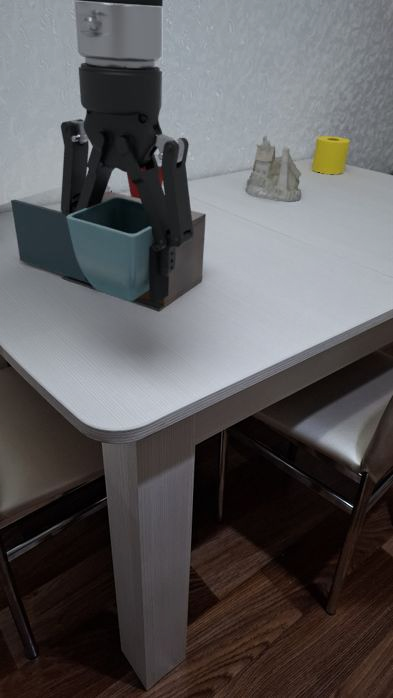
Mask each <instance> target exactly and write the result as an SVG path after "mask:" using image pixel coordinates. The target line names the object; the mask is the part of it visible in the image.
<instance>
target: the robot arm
mask: <svg viewBox="0 0 393 698" xmlns="http://www.w3.org/2000/svg"><path fill="white" fill-rule="evenodd" d="M74 12H75V14H74V15H75V26H76V27H75V28H76V42H77V53H78V54H79V56H81V57H83V58H84V61H85V62H82V63H80V66H79V67H78V81H79V95H80V97H79V99H80V103H81V104H80V105H81V106H82V107H83V108H84V109H85V111H86V112H85V117H84V120H83V119H82V118H78V119H72V120H68V121H63V122H62V123H61V124H60V132H61V136H62V141H63V162H62V180H61V181H62V182H61V197H60V200H61V201H60V212H62V213H63V215H65V216H67V215H69V214H72V213H74V212H77V211H80V210H82V209H85V208H86V209H87V208H89V207H92V206H94V205H97V204H99V203H101V202H102V199H103V196H104V193H105V190H106V187H107V185H109V182H110V179H111V176H112V173H113V171H114V170H115V169H118V170H120V171H122V172H124V173H127V172H128V175H129V178H130V180H131V182H132V183H134V184H135V185H136V188H137V191H138V193H139V196H140V199H141V202H142V205H143V208H144V210H145V213H146V216H147V219H148V222H149V225H150V227H152V233H153V236H154V239H155V242H156V244H154V245H152V246H150V247H149V303H152V304H157V303H158V302H159V301H161V300H162V299H164V298H165V297H167V296H168V292H169V275H170V274H171V273H173V272H174V270H175V257H176V247H179V246H181V245H183V244H185V243H186V242H188V241H190V240H192V239H193V237H194V233H193V224H192V216H191V211H192V209H191V200H190V191H189V183H188V176H187V175H188V174H187V158H188V152H189V146H190V144H189V141H188V139H187V138H186V137H179V138H174V137H171V136H169V135H166V134H164V133H163V130H162V128H161V125H160V119H159V118H160V112H161V109H162V105H163V103H162V102H163V96H162V95H163V71H162V70H161V68H160V67H159V66H156V64H157V62H158V61H161V60H162V59H163V58H164V53H163V52H164V5H163V0H77V1H74ZM89 143H90V144H91V146H92V148H91V151H90V154H89V148H90V147H89ZM157 150H158V153H159V155H158V158H159V159H160V160H162V178H163V182H162V186H161V183H160V180H159V172H160V171H159V167H158V164H157V161H156V158H155V155H154V153H156V151H157ZM144 167H145V168H146V170H145V171H141V170H140V169H143V168H144ZM85 281H88V280H87V278H86V277H85ZM88 282H89V281H88Z"/></svg>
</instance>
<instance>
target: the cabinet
mask: <svg viewBox="0 0 393 698" xmlns="http://www.w3.org/2000/svg"><path fill="white" fill-rule="evenodd" d="M115 196H117V197H123V198H127V199H131V200H134V201H138V202H141V199H139V198H135V197H131V195H126V194H122V193H117V192H113V191H112V192H109V191H108V192H105V193H104V196H103V199H102V201H104V200H106V199H109V198H111V197H115ZM141 203H142V202H141ZM191 216H192V224H193V233H194V237H193V239H192V240H190V241H188V242H186V243H185V244H183V245H181V246H179V247H176V257H175V270H174V272H173V273H171V274H170V275H169V292H168V296H167V297H165V298H164V299H162V300H161V301H159V302H158V303H157V304H152V303H149V290H148V291H146V292H145V293H144V294H142V295H141V296H139V297H138V298H136V299H135V300H133V301H129V302H130V303H132V304H136V305H138V306H142V307H145V308H148V309H150V310H154V311H157V312H161V311H162V310H163V309H165V308H166V307H167V306H169V305H170V304H172V303H173V302H175V301H176V300H178V299H179V298H180V297H182V296H183V295H185V294H186V293H187V292H189V291H190V290H191V289H193V288H194V287H196V286H197V285H198V284H200V283H202V281H203V268H204V254H205V253H204V251H205V235H206V234H205V232H206V216H207V214H206V213H204V212H200V211H199V212H198V211H194V210H191ZM61 279H63V280H65V281H68V282H70V283H74V284H77V285H80V286H83V287H86V288H89V289H92V290H95V291H98V290H96V289H95V288H94V287H93V286H92V284H90V283H87V282H84V281H81V280H78V279H75V278H72V277H69V276H66V275H62V276H61ZM98 292H100V293H102V294H103V293H104V292H101V291H98ZM104 294H105V293H104Z"/></svg>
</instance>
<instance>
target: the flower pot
mask: <svg viewBox="0 0 393 698" xmlns="http://www.w3.org/2000/svg"><path fill="white" fill-rule="evenodd" d="M66 218H67V222H68V227H69V231H70V236H71V240H72V244H73V249H74V252H75V256H76V259H77V262H78V264H79V266H80V269H81V270H82V272H83V274H84V275H85V277H86V278H87V280H88V281H89V282H90V283H91V284H92V286H93V287H94V288H95V289H96V290H95V291H97V290H98V292H100V291H101V292H100V293H103V292H104V294H106V295H109V296H112V297H115V298H117V299H121V300H124V301H126V302H130V301H133V300H135V299H136V298H138V297H139V296H141V295H142V294H144V293H145V292H146V291H148V290H149V247H150V246H152V245H154V244H156V242H155V239H154V236H153V233H152V227H150V225H149V222H148V219H147V216H146V213H145V210H144V208H143V205H142V203H141V202H138V201H134V200H131V199H127V198H123V197H117V196H115V197H111V198H109V199H106V200H104V201H102V202H101V203H99V204H97V205H94V206H92V207H89V208H87V209H86V208H85V209H82V210H80V211H77V212H74V213H72V214H69V215H68V216H67V217H66Z"/></svg>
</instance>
